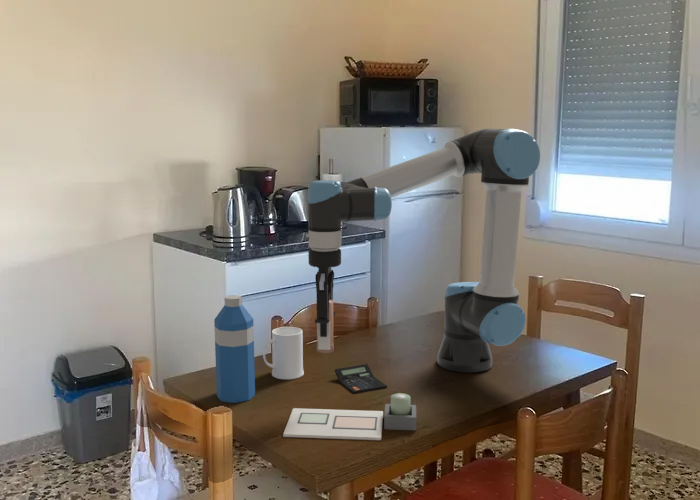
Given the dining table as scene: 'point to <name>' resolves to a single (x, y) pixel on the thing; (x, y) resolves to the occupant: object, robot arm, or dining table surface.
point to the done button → (400, 404)
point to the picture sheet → (334, 424)
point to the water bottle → (234, 352)
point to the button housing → (400, 419)
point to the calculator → (358, 379)
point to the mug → (286, 353)
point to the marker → (330, 330)
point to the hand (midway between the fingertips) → (325, 345)
